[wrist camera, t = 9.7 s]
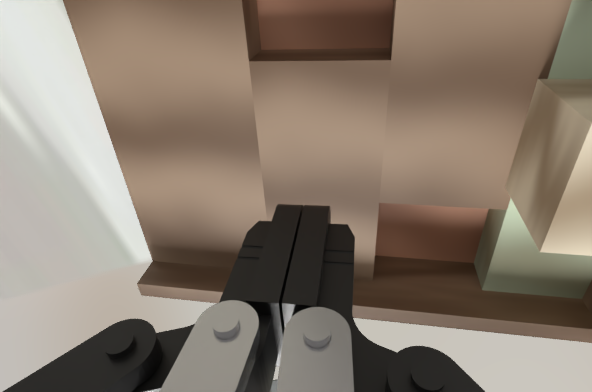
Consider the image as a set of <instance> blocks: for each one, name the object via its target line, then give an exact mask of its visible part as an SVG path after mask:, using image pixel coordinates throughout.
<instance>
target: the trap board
mask: <svg viewBox="0 0 592 392" xmlns="http://www.w3.org/2000/svg"><path fill="white" fill-rule="evenodd" d="M63 2H64V5H65V8H66V11H67V14H68V17H69V19H70V22H71V25H72V28H73V31H74V34H75V37H76V40H77V43H78V46H79V48H80V51H81V54H82V57H83V60H84V63H85V66H86V69H87V72H88V75H89V77H90V80H91V83H92V86H93V89H94V92H95V95H96V98H97V101H98V103H99V106H100V109H101V112H102V115H103V118H104V121H105V124H106V127H107V130H108V132H109V135H110V138H111V141H112V144H113V147H114V150H115V153H116V156H117V159H118V161H119V164H120V167H121V170H122V173H123V176H124V179H125V182H126V185H127V188H128V190H129V193H130V196H131V199H132V202H133V205H134V208H135V211H136V214H137V217H138V219H139V222H140V225H141V228H142V231H143V234H144V237H145V240H146V243H147V245H148V248H149V251H150V254H151V257H152V260H153V262H152V263H151V265H150V266H149V268H148V269H147V270H146V272H145V273H144V274H143V276H142V277H141V279H140V280H139V282H138V283H137V285H138V287H139V290H140V293H141V295H144V296H154V297H163V298H172V299H182V300H192V301H201V302H210V303H219V301H220V299H221V296H222V294H223V291H224V289H225V286H226V284H227V281H228V279H229V276H230V274H231V271H232V269H233V266H234V264H235V261H236V259H237V258H238V254H239V251H240V249H241V248H242V244H243V241H244V239H245V236H246V234H247V232H248V231H249V230H250V229H251V228H252V227H253V226H254V225H255V224H256V223H257V222H258V221H272V218H273V215H274V212H275V209H276V206H277V205H278V204H291V205H303V206H304V205H321V206H330V210H331V224H348V226H349V228H350V229H351V231H352V233H353V235H354V236H355V251H354V283H353V311H352V315H353V318H362V319H371V320H381V321H390V322H400V323H409V324H419V325H428V326H438V327H447V328H457V329H466V330H476V331H485V332H494V333H504V334H514V335H523V336H532V337H542V338H552V339H561V340H570V341H579V342H580V341H581V342H589V343H592V256H585V255H572V254H558V253H544V252H540V251H539V250H538V248H537V246H536V244H535V242H534V240H533V238H532V237H531V235H530V233H529V231H528V229H527V227H526V225H525V223H524V222H523V220H522V218H521V216H520V214H519V212H518V210H517V208H516V207H515V205H514V203H513V201H512V199H511V197H510V195H509V193H508V192H507V190H506V188H505V186H506V183H507V180H508V176H509V173H510V170H511V166H512V163H513V160H514V156H515V153H516V150H517V146H518V143H519V140H520V136H521V133H522V130H523V126H524V123H525V120H526V116H527V113H528V110H529V106H530V103H531V100H532V97H533V93H534V90H535V87H536V83H537V80H538V79H592V0H63Z"/></svg>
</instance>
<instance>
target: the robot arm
mask: <svg viewBox="0 0 592 392" xmlns="http://www.w3.org/2000/svg"><path fill="white" fill-rule="evenodd" d="M354 251H355V236H354V235H353V233H352V231H351V229H350V228H349V226H348V224H331V210H330V206H321V205H304V206H303V205H291V204H278V205H277V206H276V209H275V212H274V215H273V218H272V221H258V222H257V223H256V224H255V225H254V226H253V227H252V228H251V229H250V230H249V231H248V232H247V234H246V236H245V239H244V241H243V244H242V248H241V249H240V251H239V254H238V258H237V259H236V261H235V264H234V266H233V269H232V271H231V274H230V276H229V279H228V281H227V284H226V286H225V289H224V291H223V294H222V296H221V299H220V301H219V303H217V304H215V305H213V306H211V307H209V308H208V309H207V310H206V311H204V312H203V313H202V314H201V316H200V317H199V318H198V320H197V322H196V323H195V324H193V325H191V326H188V327H184V328H179V329H175V330H169V331H164V332H159V333H156V332H155V330H154V328H153V326H152V325H151V324H150V323H148V322H147V321H145V320H142V319H128V320H123V321H120V322H117V323H115V324H113V325H111V326H109V327H108V328H106V329H104V330H103V331H101V332H99V333H98V334H96V335H95V336H93V337H91V338H90V339H88V340H87V341H85V342H83V343H81V344H80V345H78V346H77V347H75V348H73V349H72V350H70V351H68V352H67V353H65V354H64V355H62V356H60V357H59V358H57V359H55V360H54V361H52V362H50V363H49V364H47V365H45V366H44V367H42V368H41V369H39V370H37V371H36V372H34V373H32V374H31V375H29V376H28V377H26V378H24V379H23V380H21V381H20V382H18V383H16V384H14V385H13V386H11V387H10V388H8V389H6V390H5V391H3V392H272V390H271V386H272V381H273V376H274V372H275V367H276V366H279V367H280V368H279V376H278V384H277V392H485V391H484V390H483V389H482V388H481V387H480V386H479V385H478V384H476V382H475V381H473V379H472V378H471V377H470V376H469V375H467V374H466V373H465V372H464V371H463V370H462V369H461V368H460V367H459V366H458V365H457V364H456V363H455V362H454V361H453V360H452V359H451V358H450V357H448V356H447V355H445V354H444V353H442V352H440V351H438V350H436V349H433V348H430V347H425V346H412V347H408V348H405V349H403V350H401V351H399V352H398V353H396V352H394V351H392V350H389V349H387V348H384V347H382V346H379V345H377V344H375V343H373V342H372V341H370V340H368V339H367V338H366V337H365V336H364V335H363V334H362V333H361V332H360V331H359V330H358V328H357V326H356V325H355V322H354V320H353V315H352V311H353V283H354Z"/></svg>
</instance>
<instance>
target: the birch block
mask: <svg viewBox="0 0 592 392" xmlns="http://www.w3.org/2000/svg"><path fill="white" fill-rule="evenodd" d="M505 188H506V190H507V192H508V193H509V195H510V197H511V199H512V201H513V203H514V205H515V207H516V208H517V210H518V212H519V214H520V216H521V218H522V220H523V222H524V223H525V225H526V227H527V229H528V231H529V233H530V235H531V237H532V238H533V240H534V242H535V244H536V246H537V248H538V250H539V251H540V252H544V253H558V254H572V255H585V256H592V79H538V80H537V83H536V87H535V90H534V93H533V97H532V100H531V103H530V106H529V110H528V113H527V116H526V120H525V123H524V126H523V130H522V133H521V136H520V140H519V143H518V146H517V150H516V153H515V156H514V160H513V163H512V166H511V170H510V173H509V176H508V180H507V183H506V186H505Z"/></svg>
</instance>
